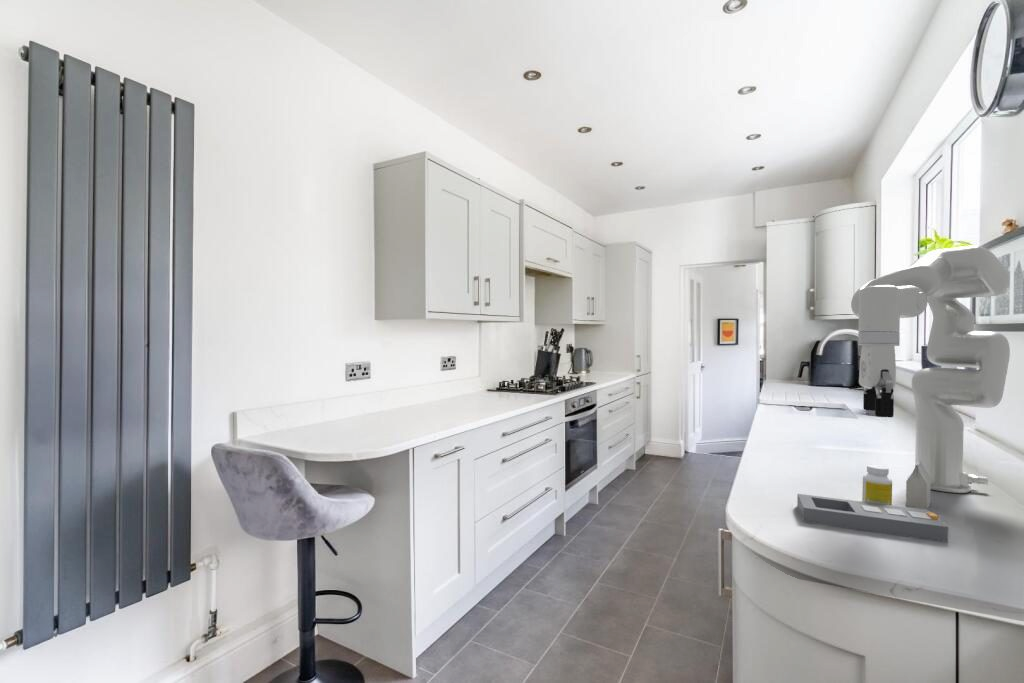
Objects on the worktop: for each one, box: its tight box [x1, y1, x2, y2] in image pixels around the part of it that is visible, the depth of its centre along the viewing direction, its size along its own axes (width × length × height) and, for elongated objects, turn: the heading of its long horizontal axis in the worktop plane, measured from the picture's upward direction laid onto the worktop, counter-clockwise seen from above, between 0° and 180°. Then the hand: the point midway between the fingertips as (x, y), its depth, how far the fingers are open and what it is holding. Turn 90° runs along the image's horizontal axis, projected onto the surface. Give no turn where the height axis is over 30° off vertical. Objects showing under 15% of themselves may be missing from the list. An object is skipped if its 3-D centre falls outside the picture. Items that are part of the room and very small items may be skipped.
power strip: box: [796, 493, 949, 543], centre depth 101 cm, size 24×10×4 cm, turn 65°
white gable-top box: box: [905, 460, 932, 510], centre depth 112 cm, size 4×7×10 cm, turn 133°
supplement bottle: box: [861, 464, 893, 505], centre depth 109 cm, size 5×5×10 cm
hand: (877, 413), depth 109 cm, fingers open, 9 cm apart
